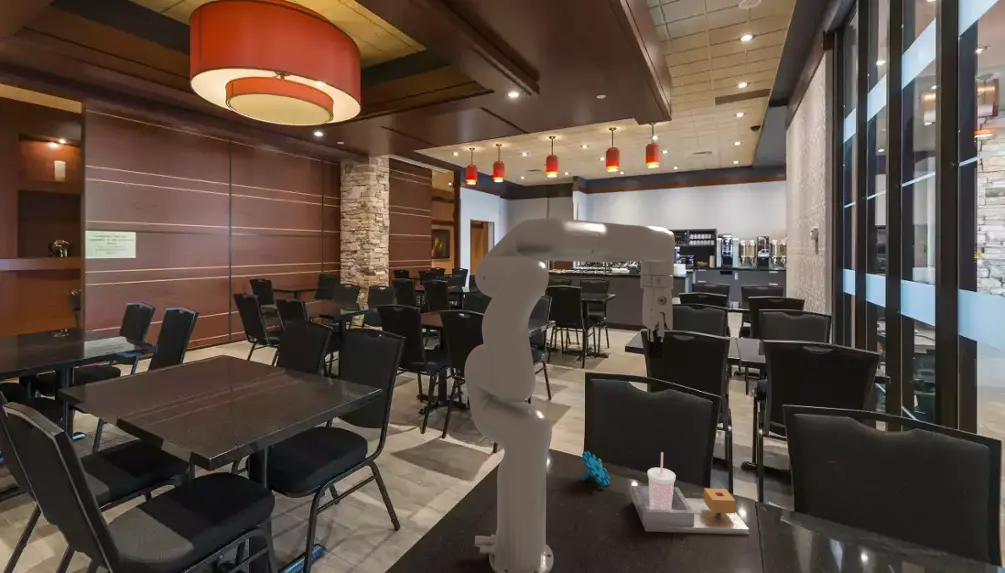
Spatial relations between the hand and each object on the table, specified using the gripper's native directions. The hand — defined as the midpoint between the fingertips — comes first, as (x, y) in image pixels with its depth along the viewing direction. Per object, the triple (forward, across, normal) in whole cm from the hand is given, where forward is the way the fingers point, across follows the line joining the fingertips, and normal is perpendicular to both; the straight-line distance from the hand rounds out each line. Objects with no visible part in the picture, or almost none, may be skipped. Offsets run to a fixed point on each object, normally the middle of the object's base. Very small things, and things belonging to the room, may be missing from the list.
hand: (654, 357), depth 113 cm
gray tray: (+35, -9, -6) cm, 37 cm away
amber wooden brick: (+32, -9, -13) cm, 36 cm away
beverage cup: (+34, -9, 0) cm, 35 cm away
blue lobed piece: (+35, +7, +12) cm, 38 cm away
